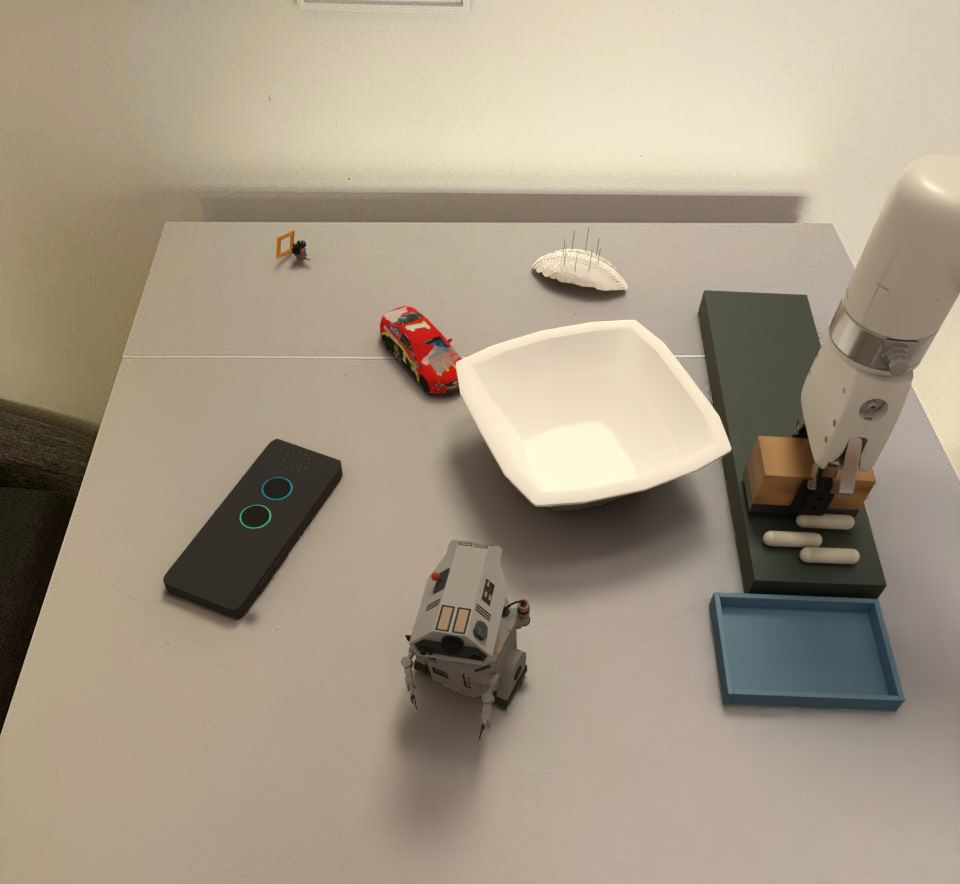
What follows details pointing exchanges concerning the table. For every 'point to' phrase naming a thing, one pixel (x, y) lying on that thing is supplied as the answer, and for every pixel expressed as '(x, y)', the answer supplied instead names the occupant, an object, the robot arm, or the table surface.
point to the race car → (421, 349)
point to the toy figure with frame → (292, 247)
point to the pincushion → (580, 269)
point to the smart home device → (254, 529)
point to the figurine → (469, 629)
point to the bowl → (589, 413)
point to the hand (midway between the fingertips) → (801, 488)
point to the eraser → (793, 477)
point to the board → (774, 412)
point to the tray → (804, 652)
